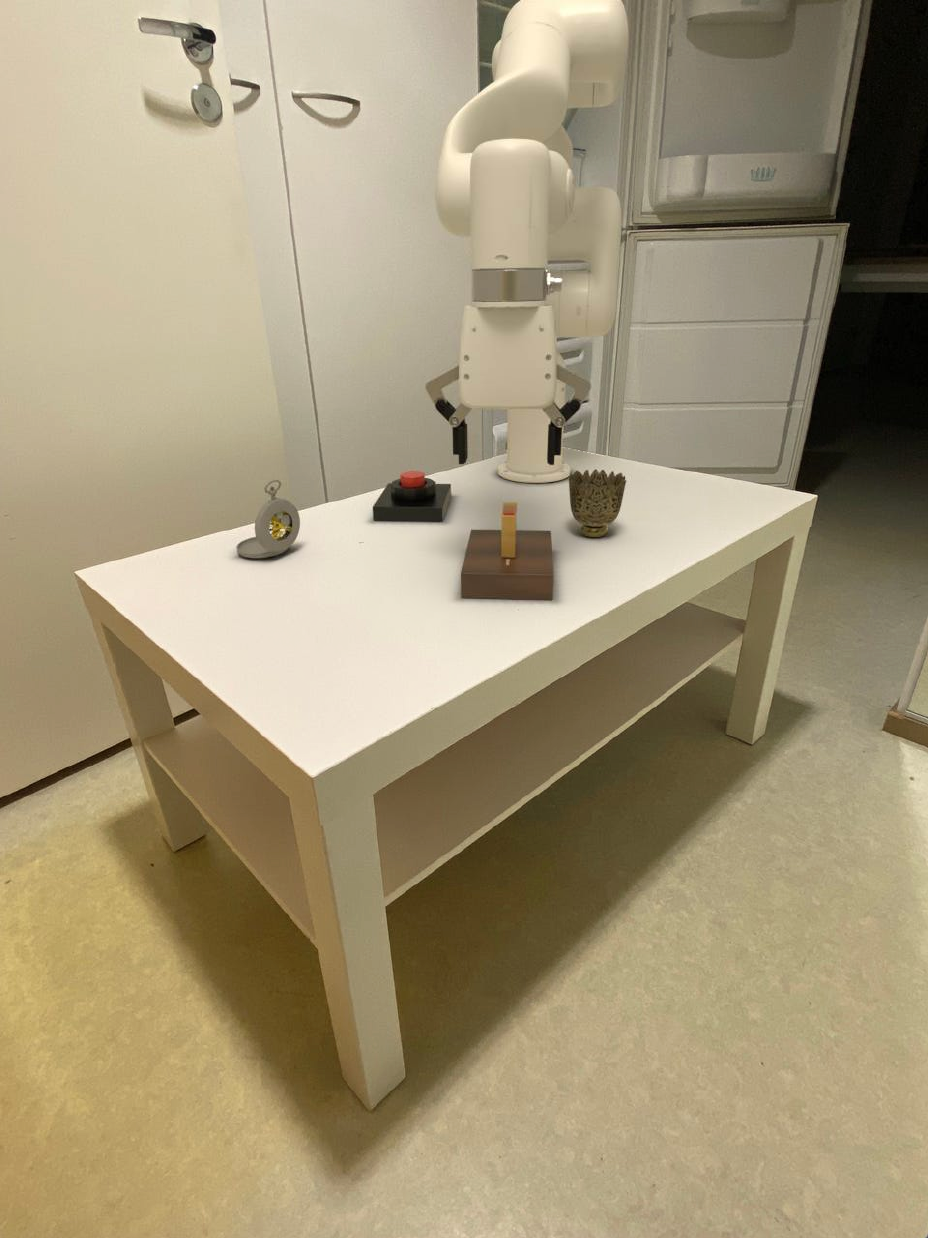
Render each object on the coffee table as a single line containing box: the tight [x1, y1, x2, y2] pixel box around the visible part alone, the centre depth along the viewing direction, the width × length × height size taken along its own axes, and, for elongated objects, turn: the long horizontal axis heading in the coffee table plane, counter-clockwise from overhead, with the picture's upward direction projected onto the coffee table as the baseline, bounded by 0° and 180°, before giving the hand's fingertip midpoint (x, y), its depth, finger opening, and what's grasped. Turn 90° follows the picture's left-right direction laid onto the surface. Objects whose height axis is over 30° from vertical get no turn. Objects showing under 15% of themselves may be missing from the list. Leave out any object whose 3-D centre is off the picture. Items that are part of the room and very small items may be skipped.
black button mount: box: [372, 477, 452, 523], centre depth 105 cm, size 12×10×4 cm
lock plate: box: [460, 529, 554, 601], centre depth 83 cm, size 14×10×3 cm
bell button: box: [399, 470, 426, 487], centre depth 104 cm, size 4×4×2 cm
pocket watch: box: [235, 479, 301, 559], centre depth 88 cm, size 8×8×10 cm
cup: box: [568, 469, 627, 538], centre depth 93 cm, size 8×7×8 cm
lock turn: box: [500, 501, 518, 558], centre depth 81 cm, size 5×2×5 cm, turn 175°
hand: (506, 461), depth 77 cm, fingers open, 9 cm apart
